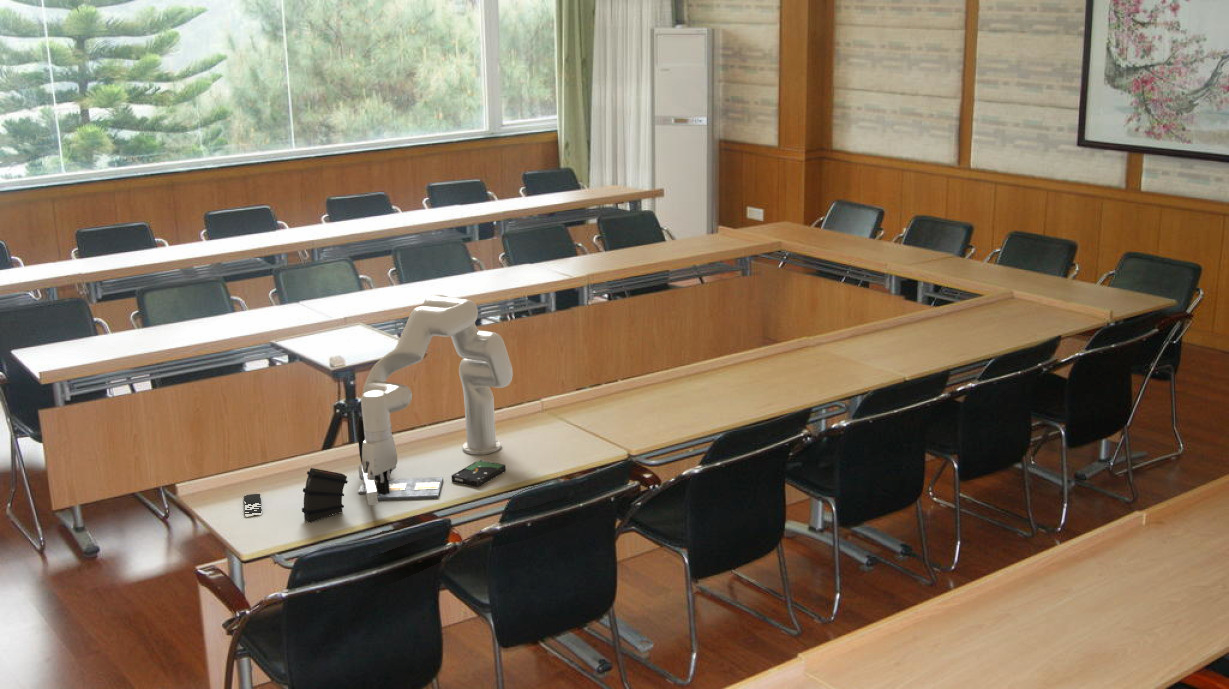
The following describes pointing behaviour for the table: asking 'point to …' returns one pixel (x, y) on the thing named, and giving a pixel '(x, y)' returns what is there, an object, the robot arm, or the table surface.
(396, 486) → the psu panel
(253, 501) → the remote control
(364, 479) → the bar
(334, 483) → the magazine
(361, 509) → the table surface
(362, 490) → the pivot post
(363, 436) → the portable speaker
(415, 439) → the table surface
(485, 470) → the disk drive
